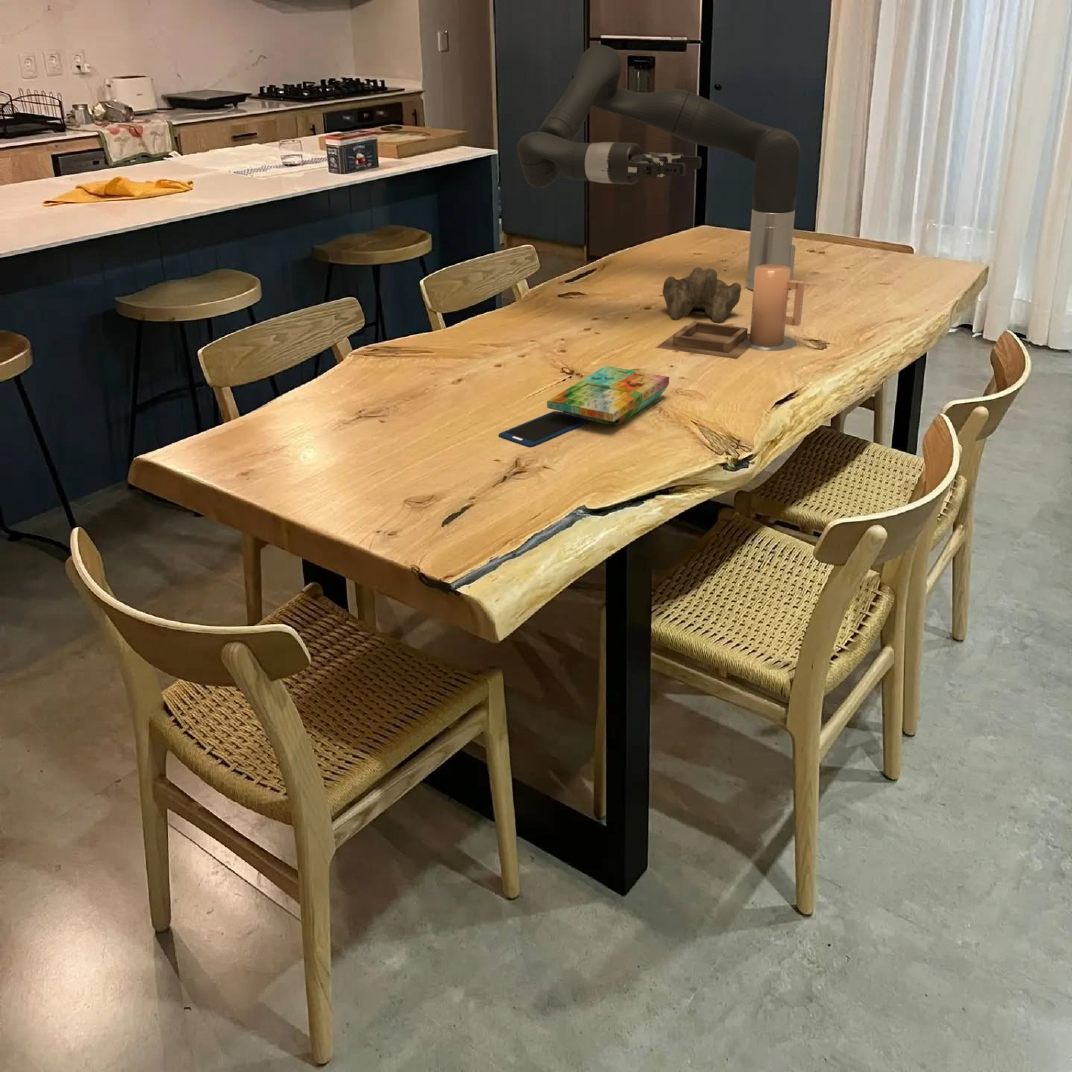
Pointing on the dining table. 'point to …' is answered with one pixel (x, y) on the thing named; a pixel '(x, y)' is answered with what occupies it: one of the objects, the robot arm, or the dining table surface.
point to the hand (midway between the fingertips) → (692, 166)
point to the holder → (709, 340)
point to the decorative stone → (700, 295)
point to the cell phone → (542, 429)
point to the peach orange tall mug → (773, 304)
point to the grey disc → (786, 345)
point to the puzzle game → (610, 395)
